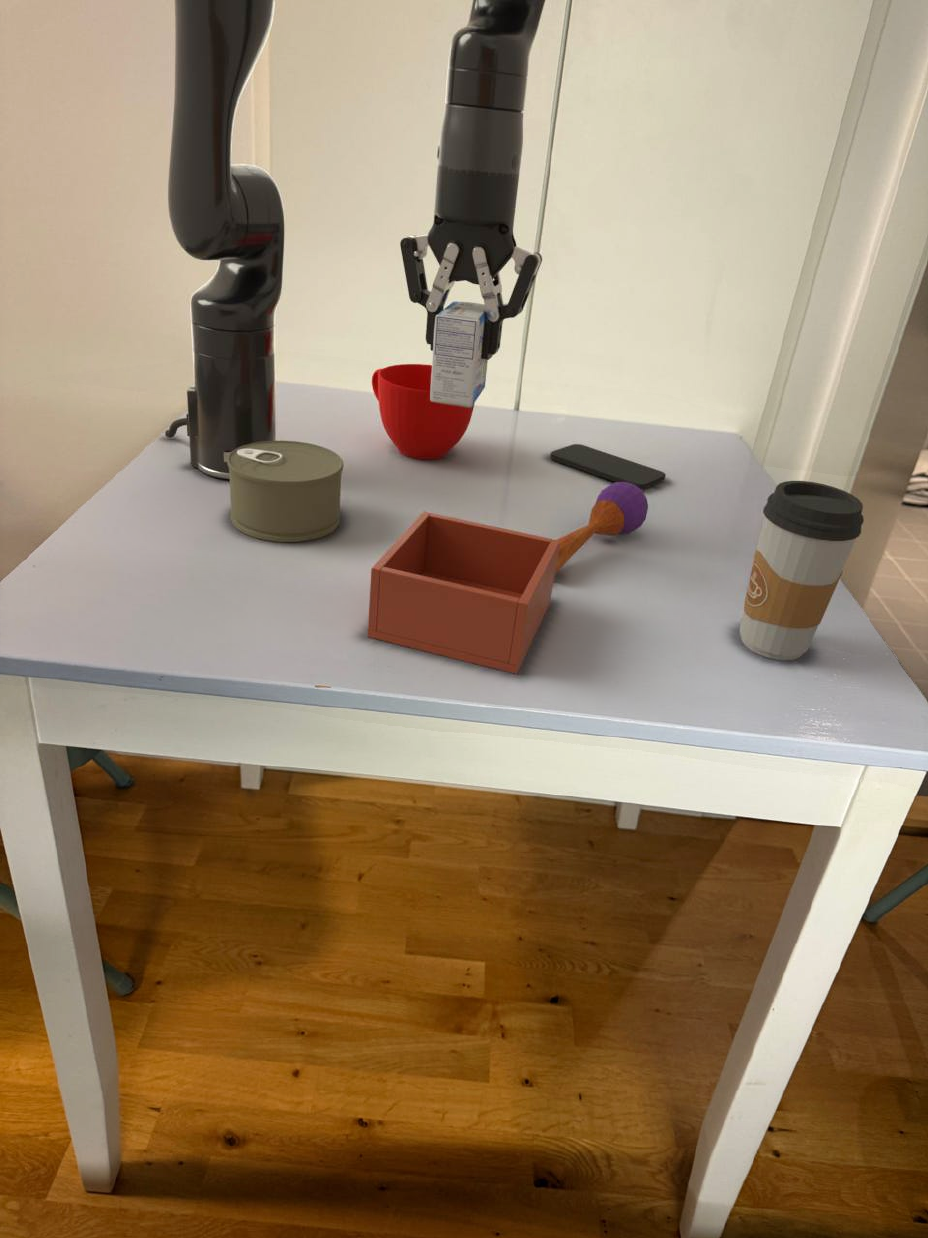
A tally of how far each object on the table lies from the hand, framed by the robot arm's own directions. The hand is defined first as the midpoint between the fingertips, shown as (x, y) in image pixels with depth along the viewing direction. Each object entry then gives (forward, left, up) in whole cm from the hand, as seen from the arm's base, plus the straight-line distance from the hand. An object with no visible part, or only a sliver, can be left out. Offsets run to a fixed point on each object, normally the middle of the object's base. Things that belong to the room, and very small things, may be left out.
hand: (461, 352), depth 90 cm
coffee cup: (+36, -9, -20) cm, 42 cm away
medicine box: (0, 0, -5) cm, 5 cm away
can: (-16, -6, -20) cm, 26 cm away
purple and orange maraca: (+16, +3, -20) cm, 25 cm away
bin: (+8, -18, -20) cm, 28 cm away
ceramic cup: (-12, +24, -20) cm, 33 cm away
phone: (+14, +30, -20) cm, 38 cm away
